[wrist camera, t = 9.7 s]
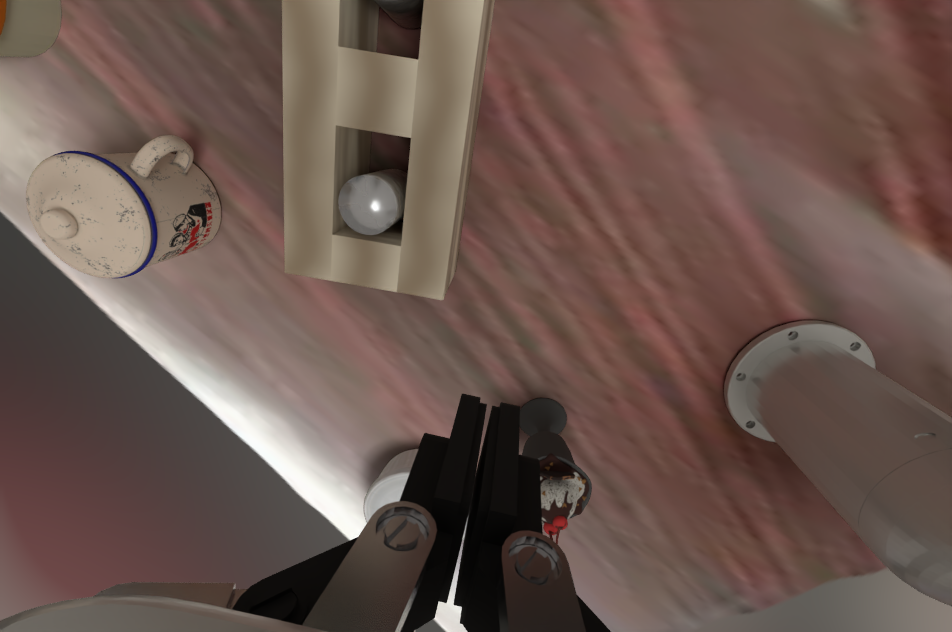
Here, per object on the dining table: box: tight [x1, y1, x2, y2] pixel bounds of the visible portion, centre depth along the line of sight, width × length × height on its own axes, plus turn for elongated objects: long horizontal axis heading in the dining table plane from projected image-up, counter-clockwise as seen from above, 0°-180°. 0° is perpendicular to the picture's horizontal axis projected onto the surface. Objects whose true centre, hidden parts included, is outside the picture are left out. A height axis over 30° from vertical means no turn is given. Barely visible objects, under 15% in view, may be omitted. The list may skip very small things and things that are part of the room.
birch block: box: [282, 0, 495, 300], centre depth 32 cm, size 12×26×8 cm, turn 171°
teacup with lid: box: [26, 135, 221, 278], centre depth 34 cm, size 12×9×12 cm
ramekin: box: [364, 449, 468, 540], centre depth 47 cm, size 11×11×5 cm
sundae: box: [520, 398, 592, 544], centre depth 38 cm, size 7×7×15 cm
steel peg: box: [338, 169, 408, 235], centre depth 34 cm, size 4×4×8 cm
